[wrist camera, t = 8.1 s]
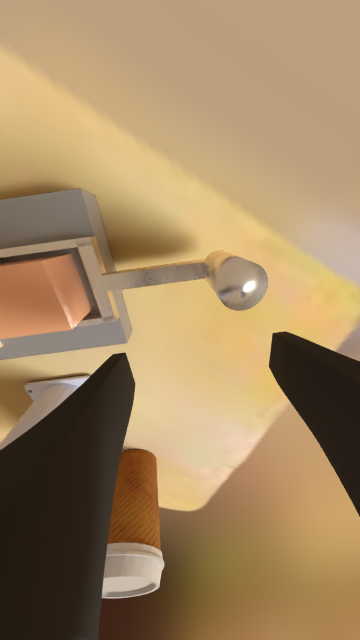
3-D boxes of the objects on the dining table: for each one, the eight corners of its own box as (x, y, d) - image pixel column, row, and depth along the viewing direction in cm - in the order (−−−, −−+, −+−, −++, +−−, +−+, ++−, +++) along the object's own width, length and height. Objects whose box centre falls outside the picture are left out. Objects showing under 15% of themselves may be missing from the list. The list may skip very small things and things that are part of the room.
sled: (230, 217, 13) (274, 208, 7) (230, 301, 16) (263, 339, 10) (-19, 252, 13) (-153, 267, 8) (25, 329, 16) (-50, 380, 10)
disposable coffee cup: (95, 462, 30) (52, 593, 19) (132, 434, 27) (107, 569, 16) (140, 481, 33) (126, 602, 22) (178, 458, 30) (182, 583, 20)
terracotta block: (71, 253, 14) (41, 260, 10) (91, 309, 16) (72, 329, 12) (4, 262, 14) (-45, 272, 10) (33, 317, 16) (-1, 339, 12)
